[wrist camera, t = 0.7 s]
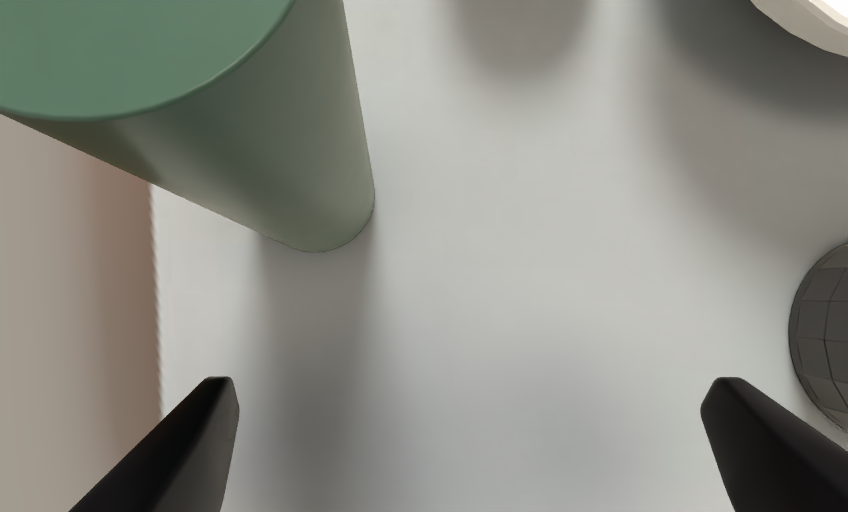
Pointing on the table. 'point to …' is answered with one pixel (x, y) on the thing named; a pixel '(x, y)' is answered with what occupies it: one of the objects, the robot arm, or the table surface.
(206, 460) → the robot arm
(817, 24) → the bowl
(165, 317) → the table surface
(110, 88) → the cylinder
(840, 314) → the ashtray
